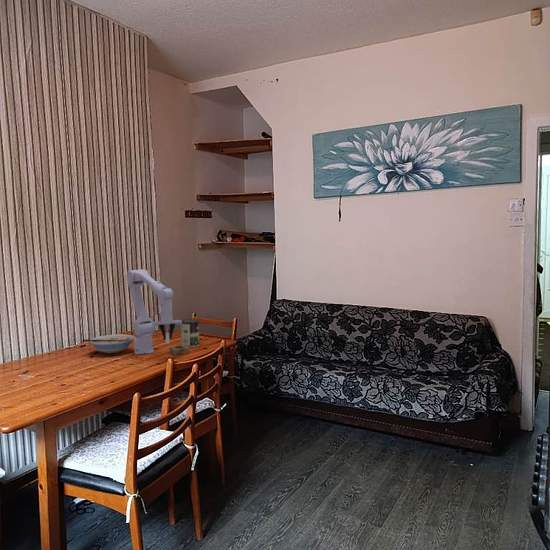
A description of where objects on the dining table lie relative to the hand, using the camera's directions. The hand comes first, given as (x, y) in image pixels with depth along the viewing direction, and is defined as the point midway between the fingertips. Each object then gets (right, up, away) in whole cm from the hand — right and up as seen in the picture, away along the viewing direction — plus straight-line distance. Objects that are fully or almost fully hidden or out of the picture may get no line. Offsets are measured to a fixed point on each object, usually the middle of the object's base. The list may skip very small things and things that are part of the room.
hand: (167, 339), depth 247 cm
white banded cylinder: (0, -2, 0) cm, 2 cm away
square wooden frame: (+4, -9, +10) cm, 14 cm away
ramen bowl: (-33, -9, +15) cm, 37 cm away
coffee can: (+7, -7, +26) cm, 28 cm away
